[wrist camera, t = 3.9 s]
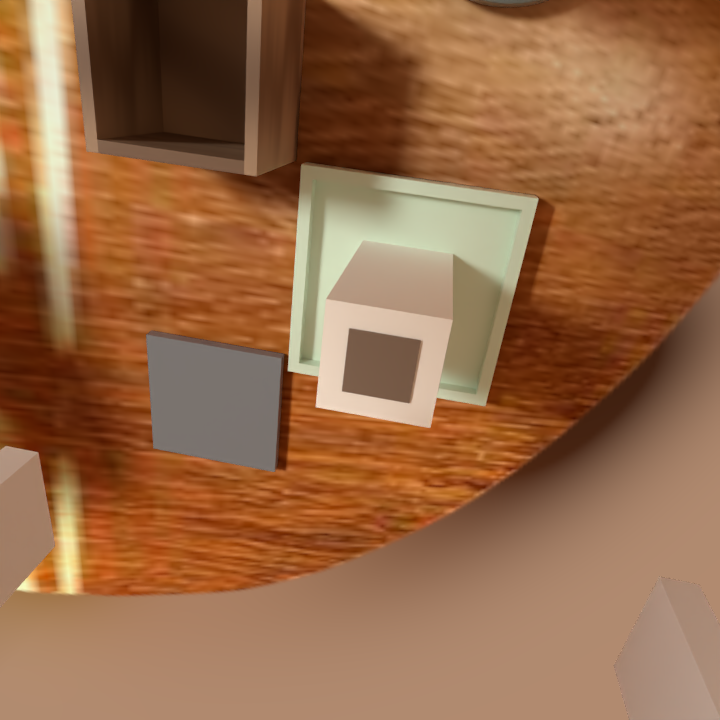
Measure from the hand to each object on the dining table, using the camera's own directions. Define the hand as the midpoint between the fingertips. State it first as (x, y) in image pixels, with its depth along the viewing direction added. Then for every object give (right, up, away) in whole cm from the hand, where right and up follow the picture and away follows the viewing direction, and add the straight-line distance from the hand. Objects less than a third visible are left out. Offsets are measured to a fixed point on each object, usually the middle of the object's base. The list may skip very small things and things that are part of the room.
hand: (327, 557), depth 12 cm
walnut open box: (-5, +18, +13) cm, 23 cm away
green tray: (+3, +8, +17) cm, 19 cm away
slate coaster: (-8, +2, +22) cm, 23 cm away
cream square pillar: (+3, +8, +16) cm, 18 cm away
